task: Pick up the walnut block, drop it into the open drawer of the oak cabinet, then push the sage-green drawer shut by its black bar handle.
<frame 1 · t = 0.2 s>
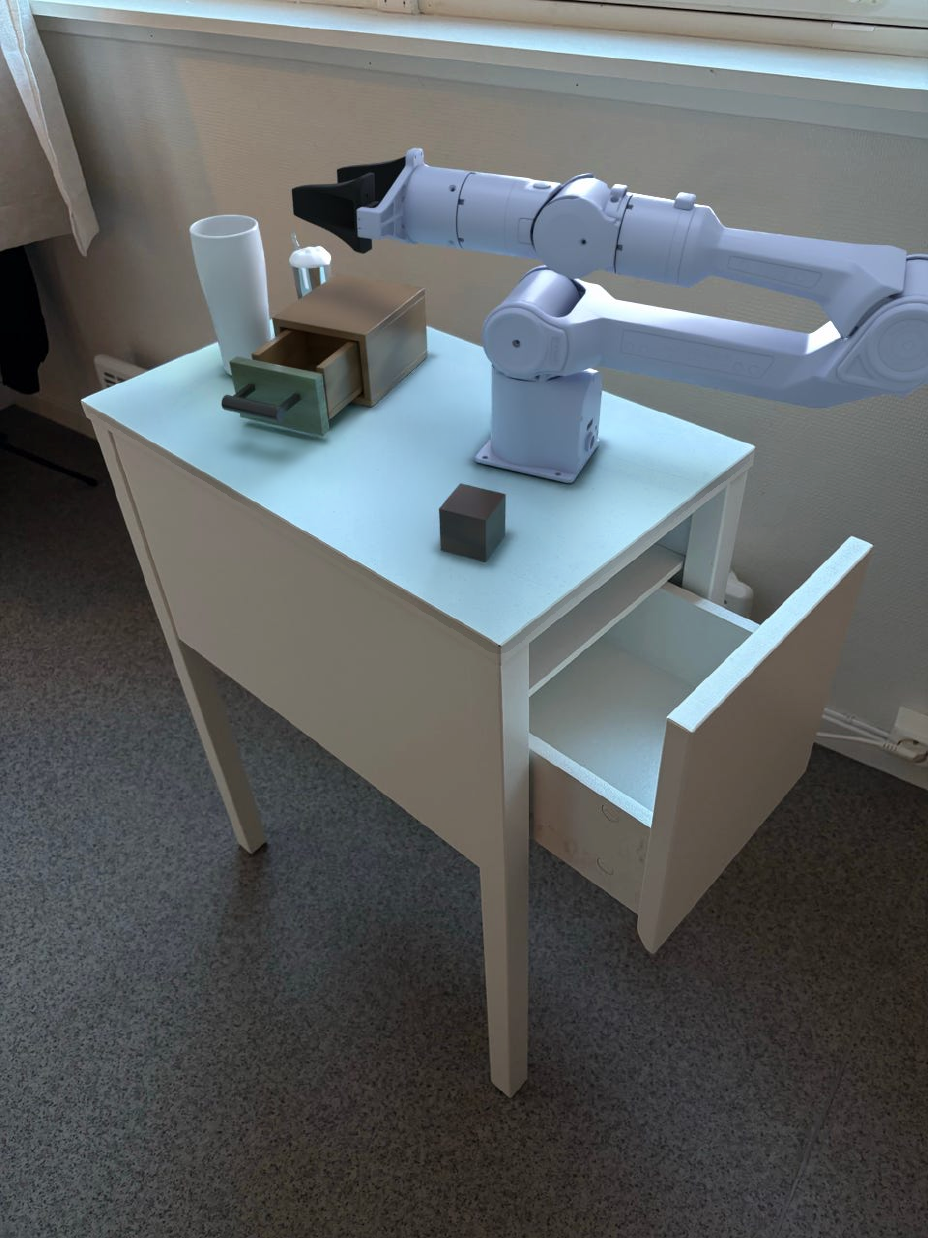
hand: (317, 190, 77), 21 cm above the table, tool horizontal, fingers open, 7 cm apart
cabinet: (357, 371, 98), on the table
milkshake: (317, 329, 107), on the table
drinking glass: (250, 371, 99), on the table
drawer: (297, 382, 88), point 4 cm above the table, slide at 7.0 cm
block: (473, 542, 74), on the table
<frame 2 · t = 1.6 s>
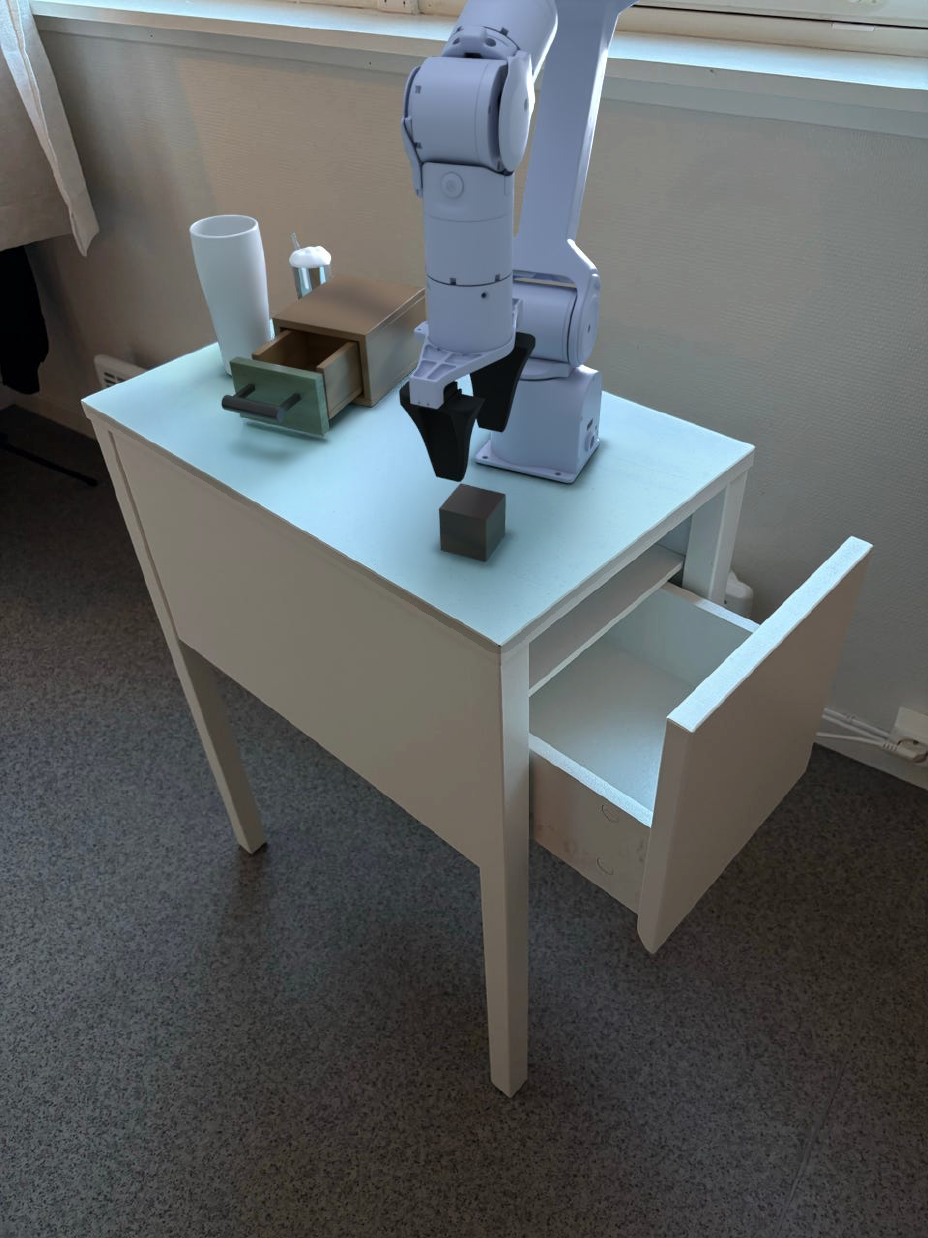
hand: (471, 451, 69), 8 cm above the table, tool pointing down, fingers open, 7 cm apart
nothing on the table moved.
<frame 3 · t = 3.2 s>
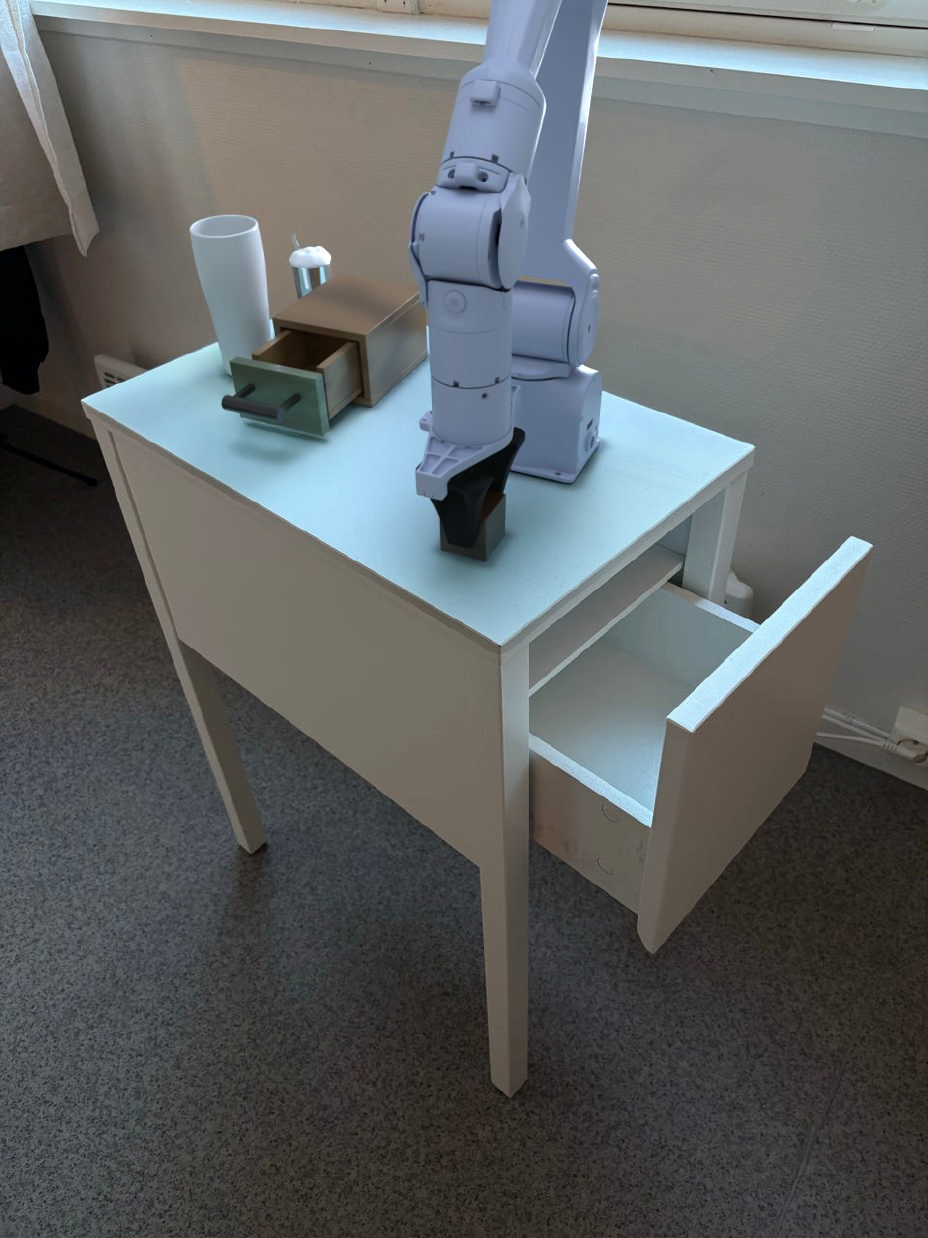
hand: (473, 528, 73), 1 cm above the table, tool pointing down, fingers closed on block, 4 cm apart
block: (473, 542, 74), on the table, touching gripper
everything else where it was.
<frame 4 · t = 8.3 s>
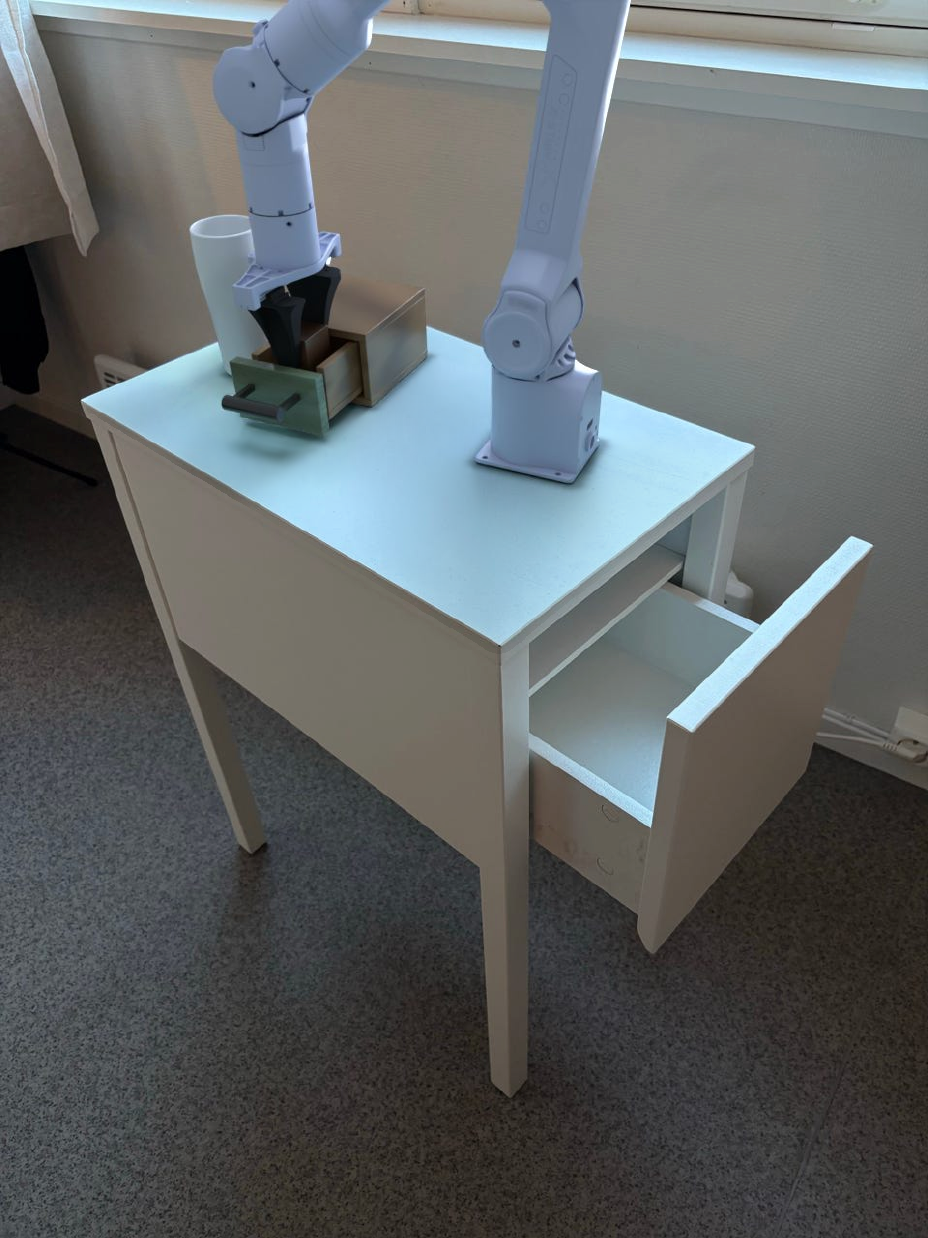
hand: (302, 355, 88), 6 cm above the table, tool pointing down, fingers closed on block, 4 cm apart
block: (303, 369, 88), point 5 cm above the table, touching gripper
when the fingers open (6 cm above the table, at t = 8.7 s): block drops 3 cm, resting on drawer.
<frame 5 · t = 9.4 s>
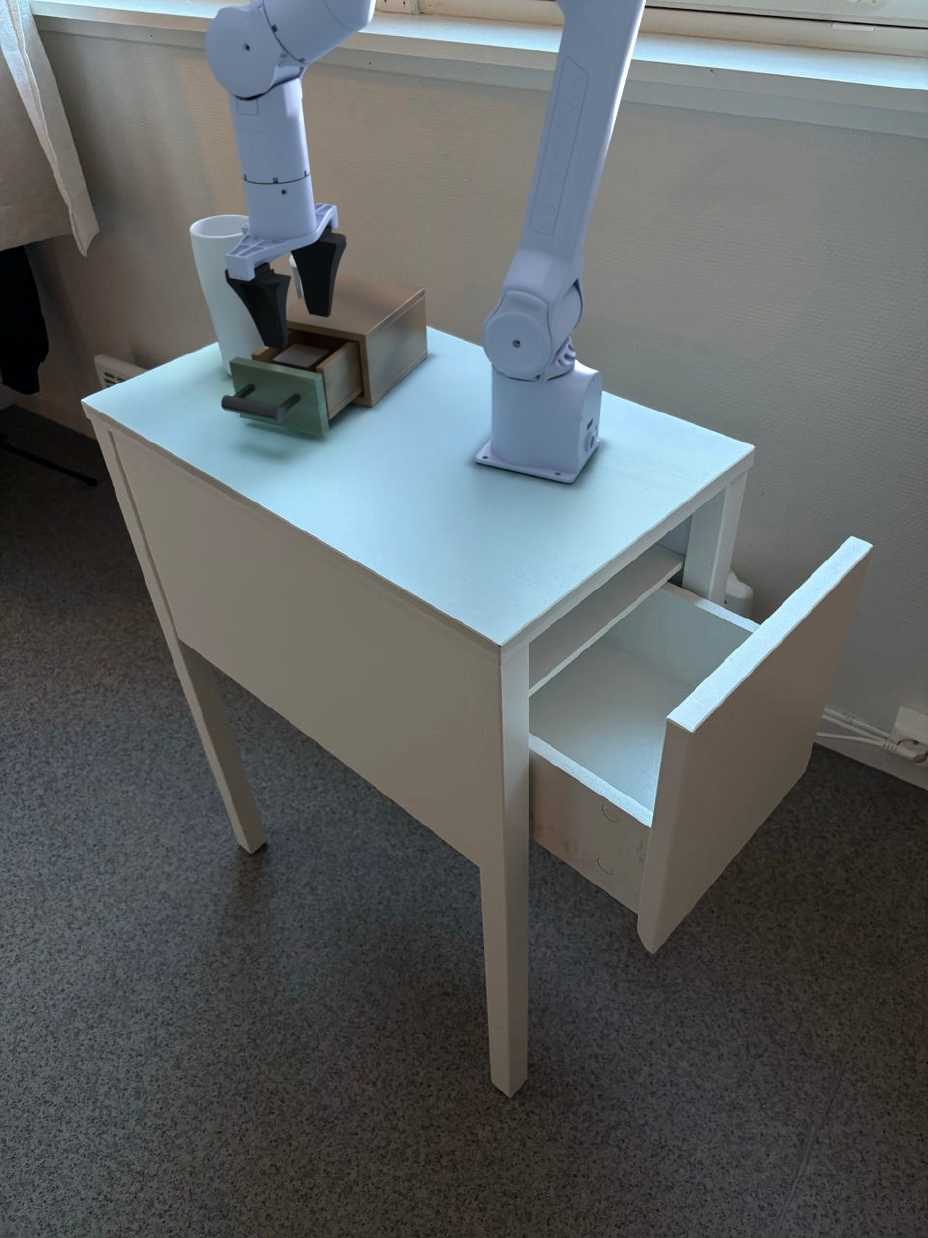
hand: (298, 330, 86), 8 cm above the table, tool pointing down, fingers open, 7 cm apart
drawer: (297, 382, 88), point 4 cm above the table, slide at 7.0 cm, touching block
block: (306, 393, 90), point 2 cm above the table, touching drawer
everything else where it was.
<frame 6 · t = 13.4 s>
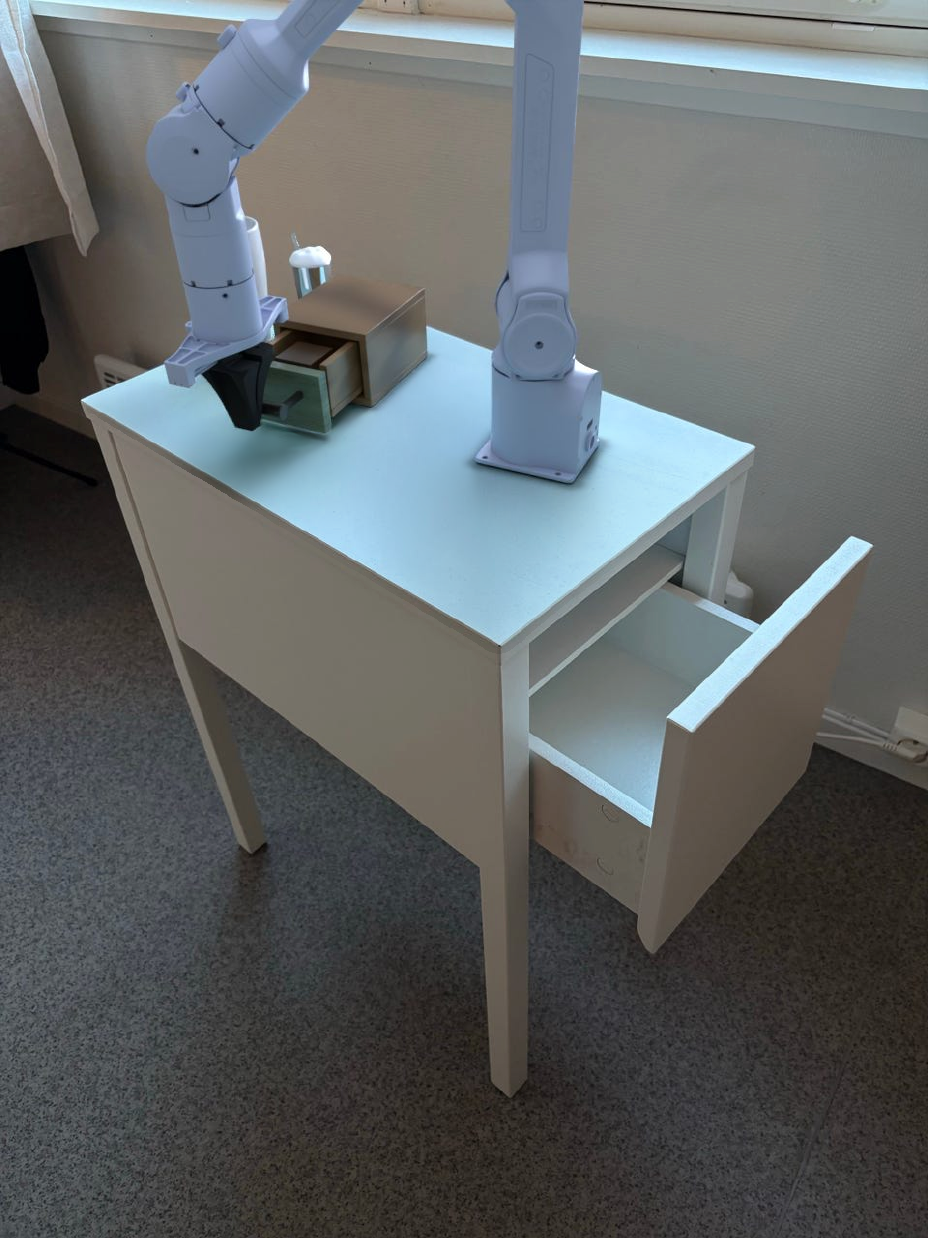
hand: (247, 426, 83), 3 cm above the table, tool pointing down, fingers closed
drawer: (300, 380, 88), point 4 cm above the table, slide at 6.5 cm, touching block, gripper
everything else where it was.
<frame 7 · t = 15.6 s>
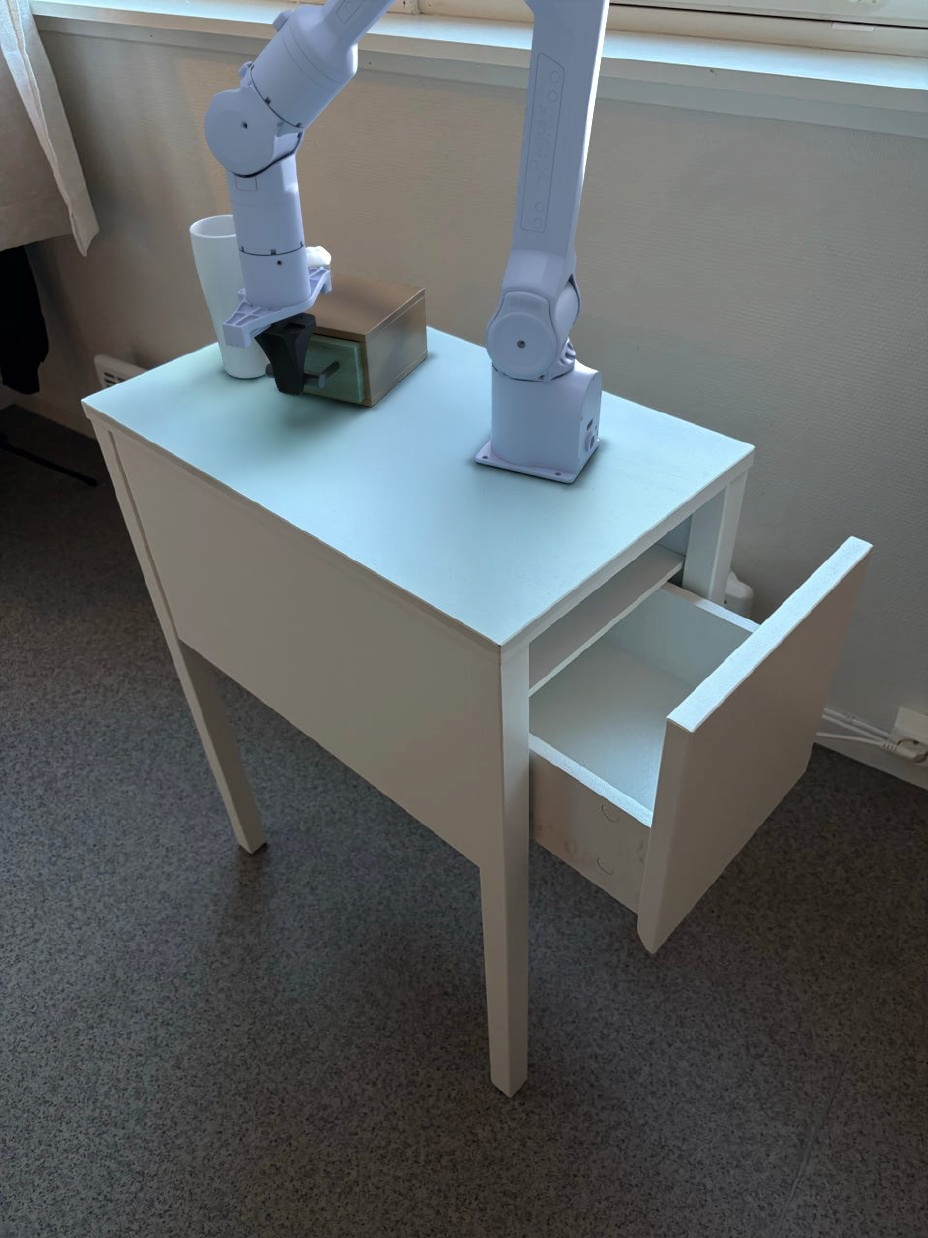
hand: (292, 390, 88), 3 cm above the table, tool pointing down, fingers closed, pressing on drawer
drawer: (334, 352, 93), point 4 cm above the table, slide at 0.0 cm, touching block, cabinet, gripper
block: (342, 363, 95), point 2 cm above the table, touching drawer
everything else where it was.
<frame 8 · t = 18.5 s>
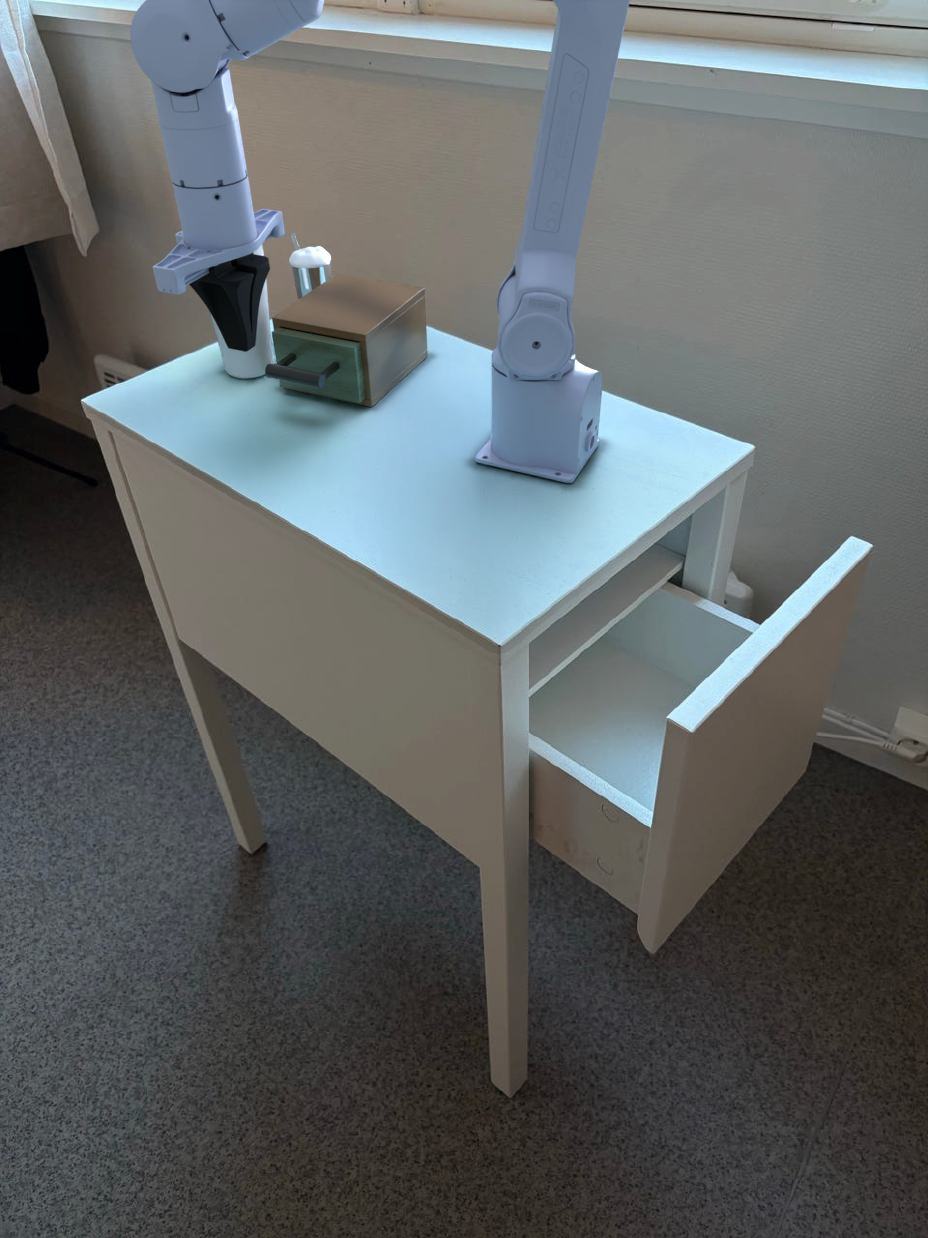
hand: (241, 346, 79), 10 cm above the table, tool pointing down, fingers closed
drawer: (334, 352, 93), point 4 cm above the table, slide at 0.0 cm, touching block, cabinet
everything else where it was.
at the end: block inside the target area in the cabinet (2.5 cm from its centre), point 2.0 cm above the cabinet's base; drawer slide at 0.0 cm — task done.
